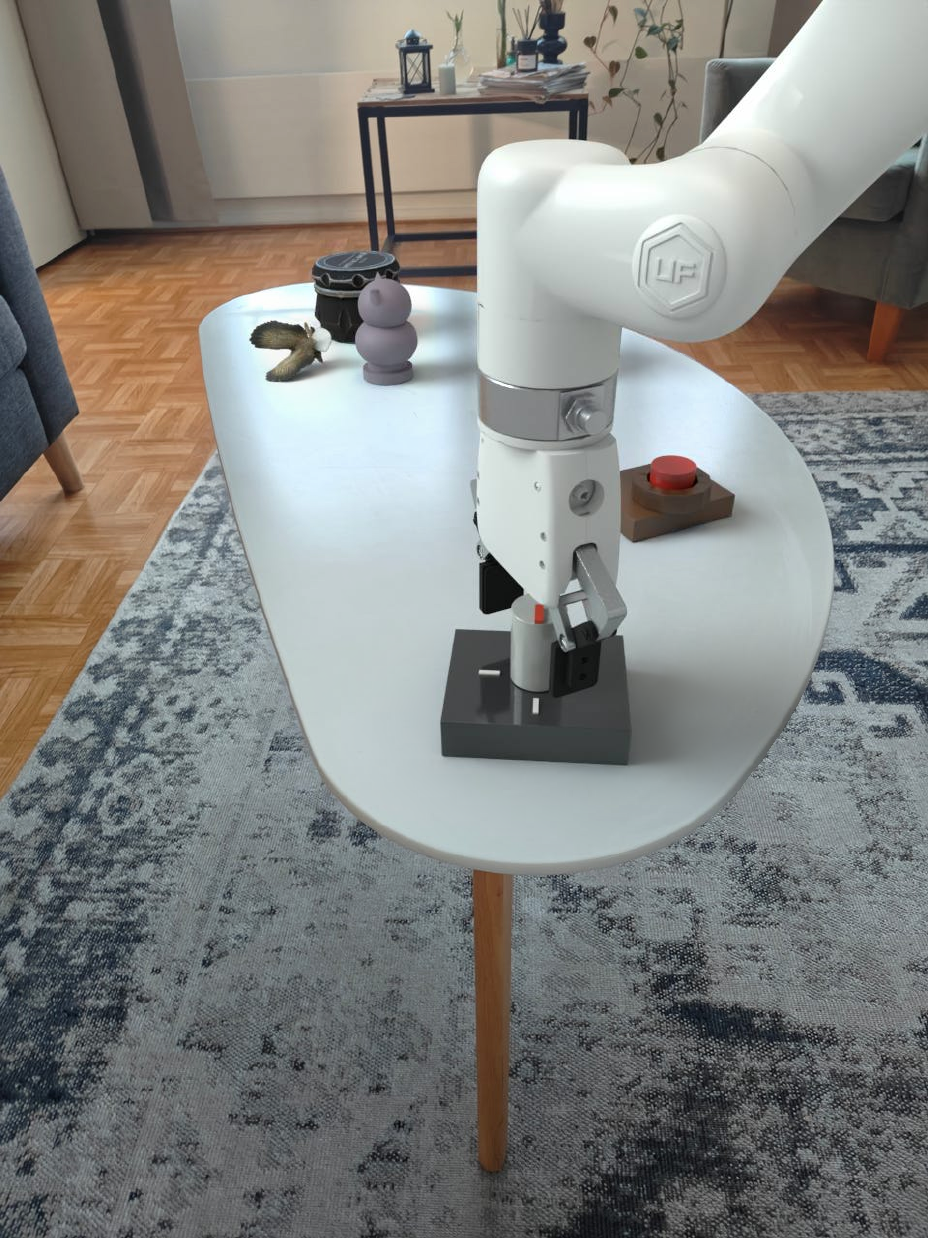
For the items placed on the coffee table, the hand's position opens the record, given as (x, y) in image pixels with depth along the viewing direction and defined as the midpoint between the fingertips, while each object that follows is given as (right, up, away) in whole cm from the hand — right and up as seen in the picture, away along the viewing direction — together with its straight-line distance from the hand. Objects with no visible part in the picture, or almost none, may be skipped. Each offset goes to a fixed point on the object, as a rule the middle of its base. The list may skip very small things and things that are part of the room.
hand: (535, 646), depth 59 cm
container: (-20, +43, +71) cm, 86 cm away
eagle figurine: (-27, +34, +59) cm, 73 cm away
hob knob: (0, -2, +1) cm, 2 cm away
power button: (+14, +14, +23) cm, 30 cm away
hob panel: (0, -4, +3) cm, 5 cm away
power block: (+13, +12, +26) cm, 32 cm away
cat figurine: (-14, +33, +56) cm, 67 cm away
